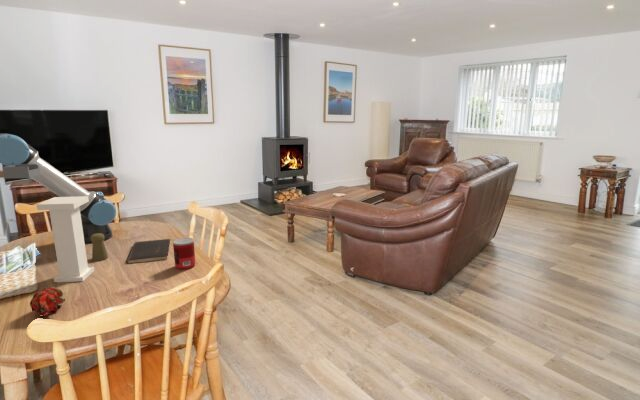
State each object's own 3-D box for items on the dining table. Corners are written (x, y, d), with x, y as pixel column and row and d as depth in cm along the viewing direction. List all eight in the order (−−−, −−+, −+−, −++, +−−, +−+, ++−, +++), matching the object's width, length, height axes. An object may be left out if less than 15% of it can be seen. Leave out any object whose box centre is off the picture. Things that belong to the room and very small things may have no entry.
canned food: (199, 263, 162) (197, 238, 160) (187, 271, 155) (184, 244, 152) (184, 261, 165) (181, 236, 162) (171, 268, 157) (168, 242, 155)
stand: (49, 283, 144) (36, 204, 137) (65, 270, 155) (54, 197, 148) (84, 282, 145) (73, 203, 138) (98, 269, 157) (88, 196, 150)
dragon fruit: (59, 306, 130) (47, 330, 120) (32, 296, 127) (17, 319, 116) (73, 287, 129) (61, 309, 118) (45, 276, 126) (31, 298, 115)
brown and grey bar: (-41, 179, 135) (-43, 168, 134) (-26, 176, 142) (-28, 165, 141) (29, 178, 138) (27, 166, 137) (40, 174, 144) (38, 164, 144)
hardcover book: (170, 243, 189) (170, 238, 188) (168, 260, 168) (167, 255, 167) (134, 246, 184) (133, 242, 184) (127, 264, 163) (126, 259, 162)
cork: (101, 261, 165) (97, 236, 162) (88, 260, 166) (85, 235, 163) (111, 256, 171) (108, 232, 168) (99, 255, 172) (96, 231, 169)
